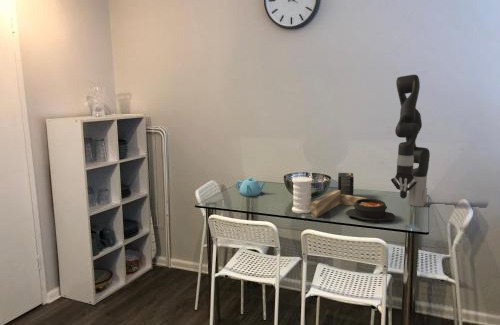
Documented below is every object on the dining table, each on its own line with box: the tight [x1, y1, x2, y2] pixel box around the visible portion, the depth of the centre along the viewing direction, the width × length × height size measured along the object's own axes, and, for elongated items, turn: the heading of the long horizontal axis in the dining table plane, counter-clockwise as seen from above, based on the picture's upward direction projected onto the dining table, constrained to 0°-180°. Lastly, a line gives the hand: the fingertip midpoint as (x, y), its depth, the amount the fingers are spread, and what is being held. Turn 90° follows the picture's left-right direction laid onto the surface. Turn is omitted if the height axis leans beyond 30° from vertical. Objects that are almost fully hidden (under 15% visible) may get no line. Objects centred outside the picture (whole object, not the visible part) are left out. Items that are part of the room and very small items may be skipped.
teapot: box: [234, 177, 267, 197], centre depth 268 cm, size 15×15×11 cm
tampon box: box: [337, 172, 355, 196], centre depth 254 cm, size 11×9×15 cm
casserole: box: [345, 198, 396, 222], centre depth 217 cm, size 25×19×8 cm
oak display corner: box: [310, 189, 369, 219], centre depth 228 cm, size 18×32×8 cm, turn 143°
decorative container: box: [291, 176, 313, 214], centre depth 231 cm, size 12×12×18 cm
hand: (403, 198), depth 205 cm, fingers closed
